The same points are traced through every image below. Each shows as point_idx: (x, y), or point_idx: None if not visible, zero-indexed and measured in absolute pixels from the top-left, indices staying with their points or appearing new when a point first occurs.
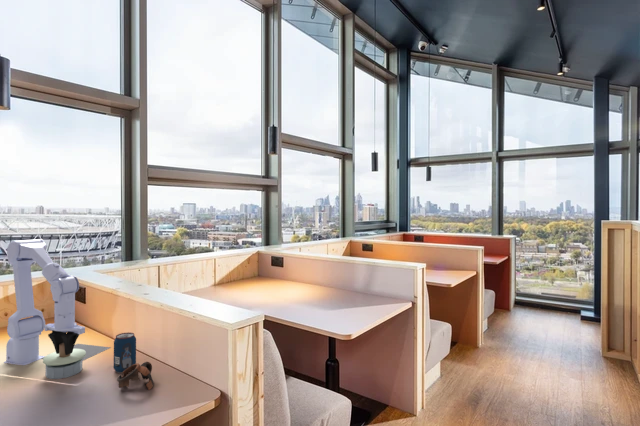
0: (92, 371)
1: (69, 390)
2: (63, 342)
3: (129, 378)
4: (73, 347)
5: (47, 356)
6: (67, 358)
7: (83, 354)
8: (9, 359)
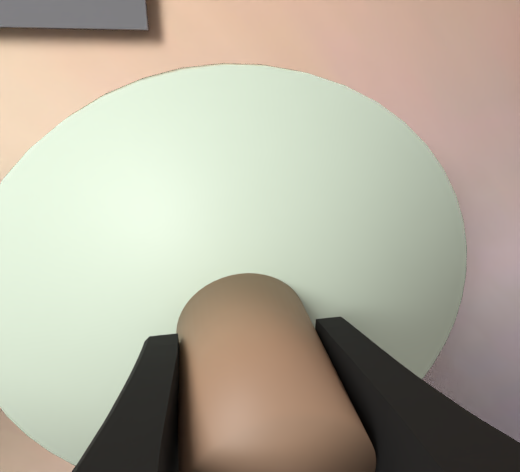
0: (421, 129)
1: (448, 379)
2: (164, 456)
3: None
4: (390, 359)
5: (54, 422)
6: None
7: (450, 227)
8: None
